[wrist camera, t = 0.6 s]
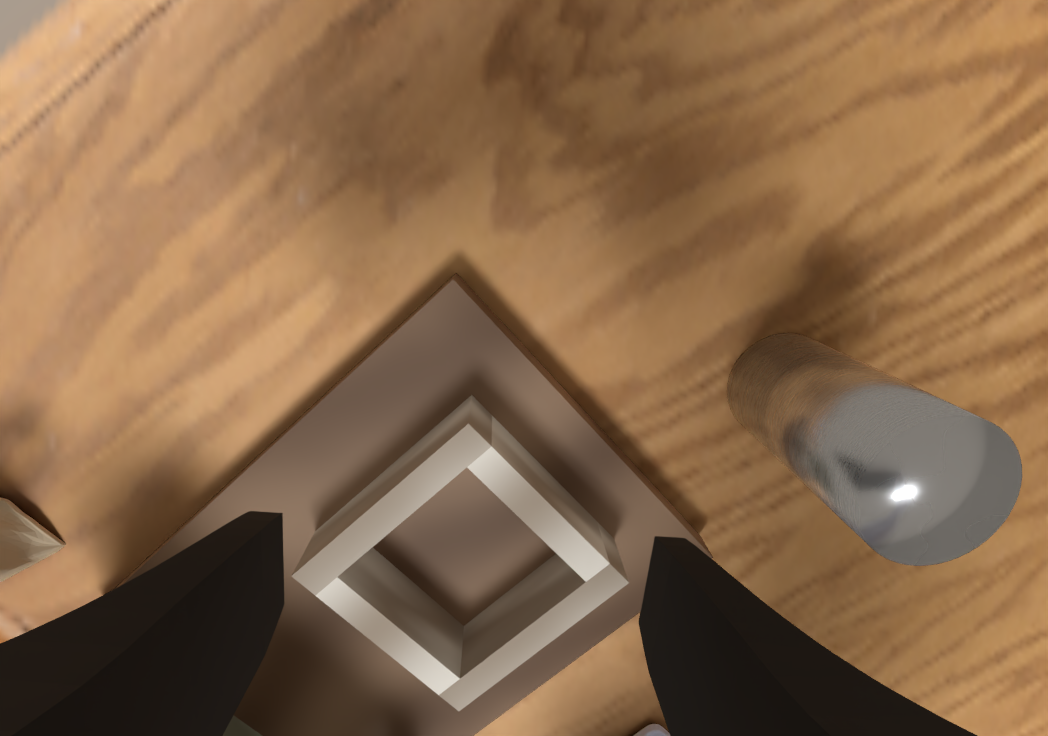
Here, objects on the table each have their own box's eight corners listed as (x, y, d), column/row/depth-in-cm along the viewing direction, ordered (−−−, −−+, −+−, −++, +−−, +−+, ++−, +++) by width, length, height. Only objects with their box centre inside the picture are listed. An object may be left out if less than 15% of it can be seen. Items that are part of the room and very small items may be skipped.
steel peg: (854, 388, 22) (1050, 497, 14) (766, 455, 22) (908, 593, 15) (795, 310, 21) (972, 380, 13) (705, 382, 21) (823, 490, 14)
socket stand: (699, 534, 23) (853, 794, 13) (364, 787, 26) (284, 1152, 16) (456, 272, 20) (415, 356, 10) (103, 598, 23) (-204, 917, 13)
